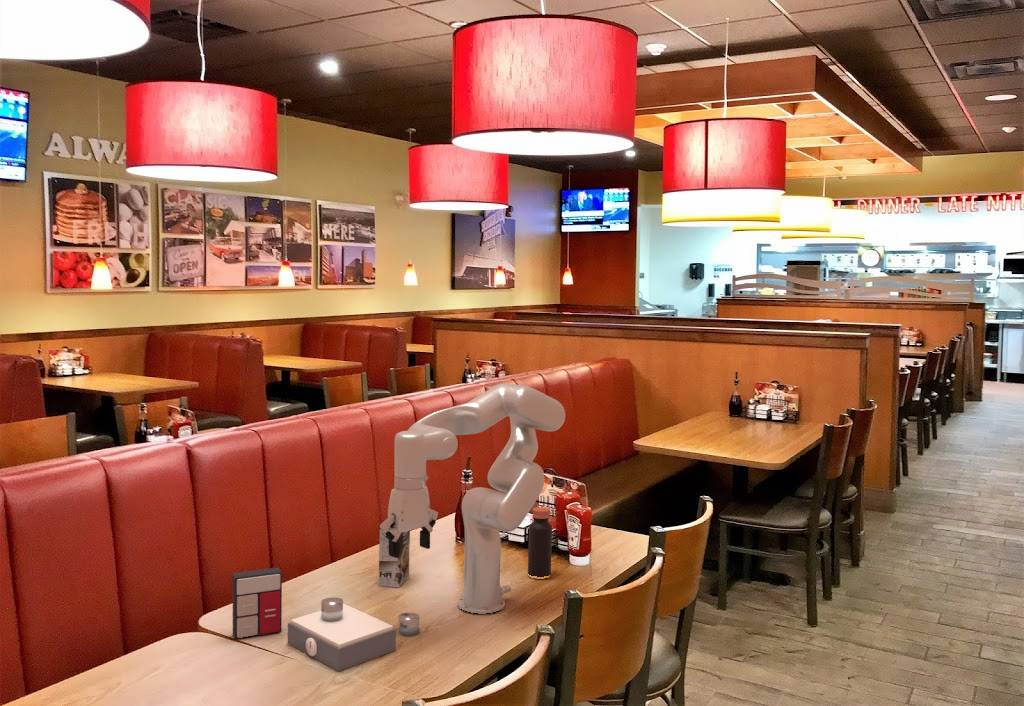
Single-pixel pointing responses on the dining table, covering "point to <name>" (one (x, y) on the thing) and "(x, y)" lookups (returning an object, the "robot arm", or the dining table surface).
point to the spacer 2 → (408, 624)
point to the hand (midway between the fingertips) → (409, 551)
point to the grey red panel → (257, 602)
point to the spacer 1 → (331, 609)
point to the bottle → (540, 543)
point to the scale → (342, 638)
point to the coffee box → (394, 561)
